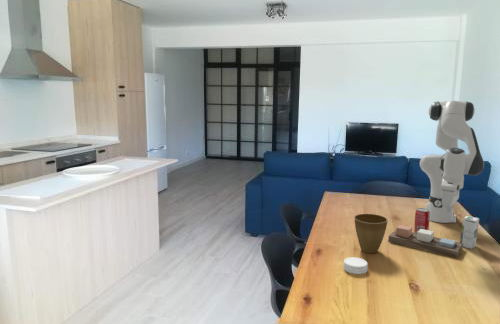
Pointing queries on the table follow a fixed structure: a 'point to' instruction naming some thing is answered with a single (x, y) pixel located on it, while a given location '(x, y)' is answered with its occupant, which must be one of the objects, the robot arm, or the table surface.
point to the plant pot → (370, 231)
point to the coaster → (355, 265)
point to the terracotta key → (404, 231)
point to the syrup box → (469, 231)
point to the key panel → (426, 244)
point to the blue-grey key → (447, 243)
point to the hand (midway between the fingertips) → (449, 212)
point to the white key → (425, 235)
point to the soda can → (421, 219)
